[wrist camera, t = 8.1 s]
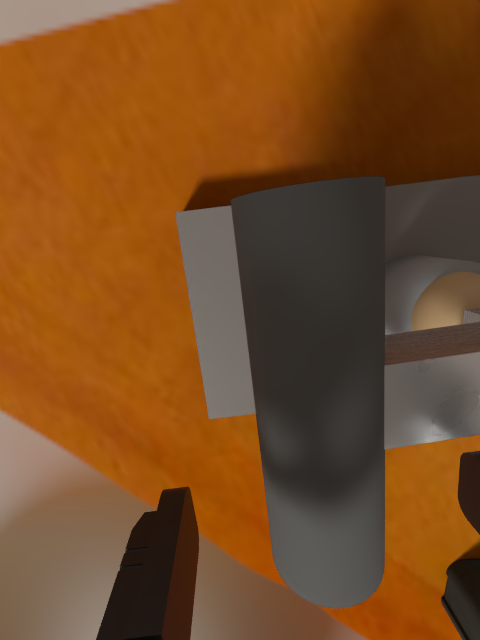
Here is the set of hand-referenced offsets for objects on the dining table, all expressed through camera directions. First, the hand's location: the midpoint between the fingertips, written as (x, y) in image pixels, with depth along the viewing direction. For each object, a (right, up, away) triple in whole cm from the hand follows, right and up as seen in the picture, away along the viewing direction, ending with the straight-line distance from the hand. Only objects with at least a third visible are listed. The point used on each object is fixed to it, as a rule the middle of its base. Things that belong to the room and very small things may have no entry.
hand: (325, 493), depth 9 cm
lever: (+6, +5, +1) cm, 7 cm away
